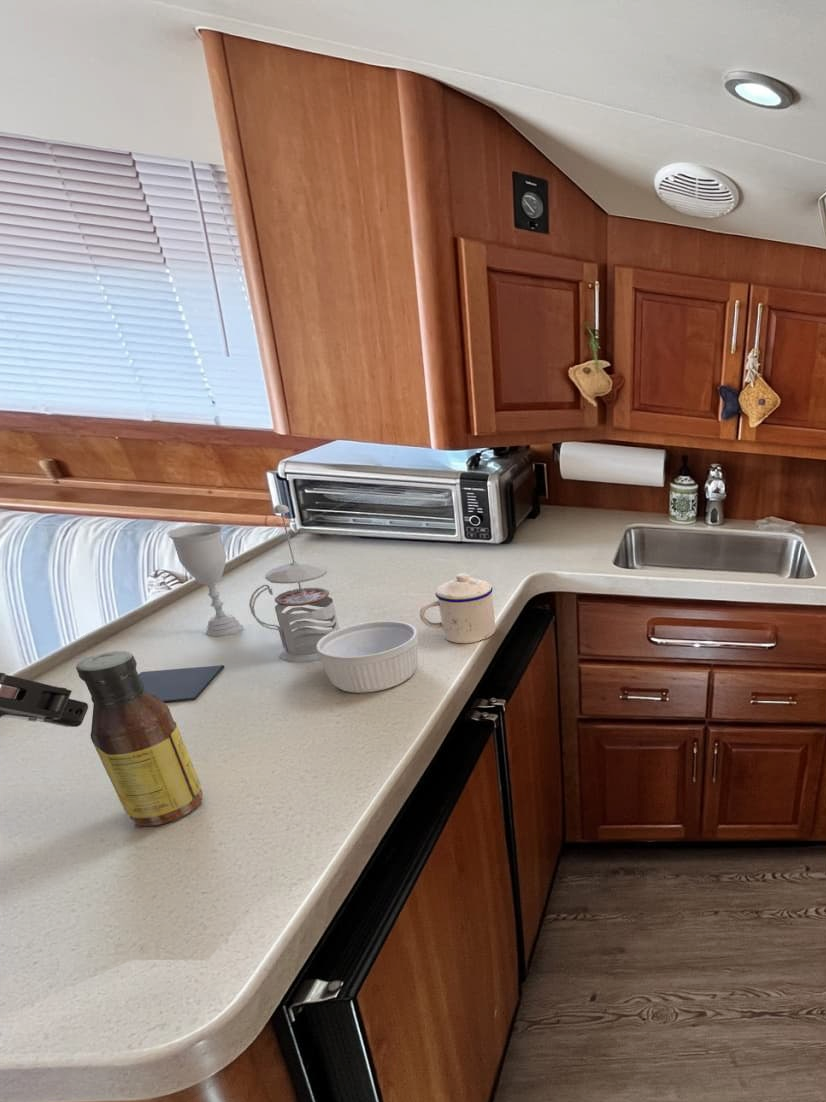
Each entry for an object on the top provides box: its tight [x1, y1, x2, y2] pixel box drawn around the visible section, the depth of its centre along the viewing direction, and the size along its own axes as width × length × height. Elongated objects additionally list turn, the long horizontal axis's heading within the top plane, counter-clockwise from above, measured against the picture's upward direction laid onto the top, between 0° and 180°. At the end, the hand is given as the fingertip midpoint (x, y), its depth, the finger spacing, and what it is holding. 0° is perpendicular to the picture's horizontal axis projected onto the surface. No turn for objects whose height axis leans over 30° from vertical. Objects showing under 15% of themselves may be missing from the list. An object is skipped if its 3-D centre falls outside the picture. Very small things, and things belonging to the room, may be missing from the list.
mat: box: [138, 664, 225, 704], centre depth 94 cm, size 10×10×1 cm
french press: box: [249, 504, 340, 663], centre depth 102 cm, size 10×12×25 cm
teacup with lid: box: [418, 572, 497, 644], centre depth 114 cm, size 12×9×12 cm
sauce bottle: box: [75, 650, 203, 827], centre depth 68 cm, size 7×6×20 cm
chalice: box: [166, 524, 244, 637], centre depth 107 cm, size 7×7×18 cm
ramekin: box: [316, 620, 419, 694], centre depth 100 cm, size 13×13×7 cm
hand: (27, 714), depth 57 cm, fingers open, 8 cm apart
